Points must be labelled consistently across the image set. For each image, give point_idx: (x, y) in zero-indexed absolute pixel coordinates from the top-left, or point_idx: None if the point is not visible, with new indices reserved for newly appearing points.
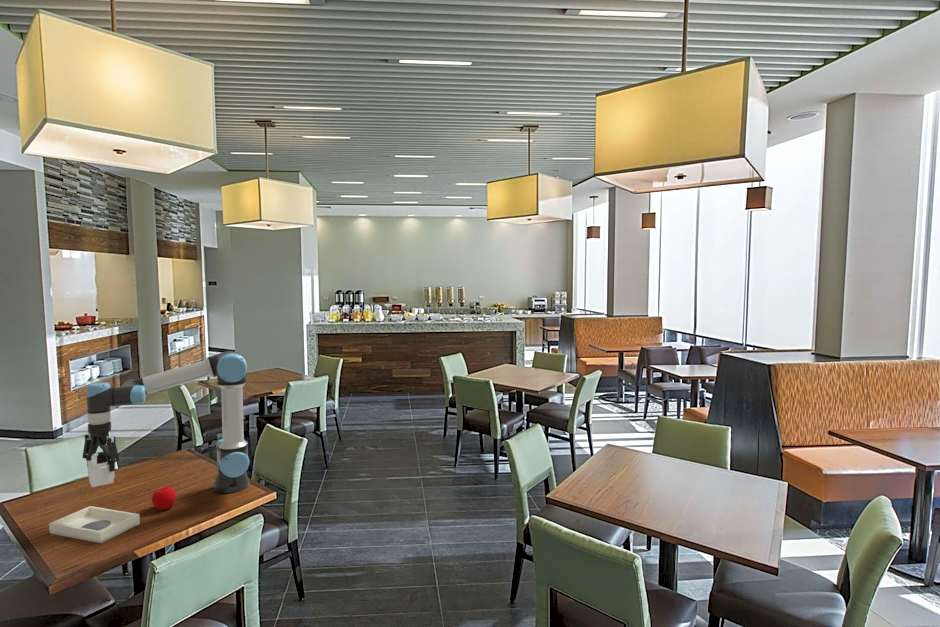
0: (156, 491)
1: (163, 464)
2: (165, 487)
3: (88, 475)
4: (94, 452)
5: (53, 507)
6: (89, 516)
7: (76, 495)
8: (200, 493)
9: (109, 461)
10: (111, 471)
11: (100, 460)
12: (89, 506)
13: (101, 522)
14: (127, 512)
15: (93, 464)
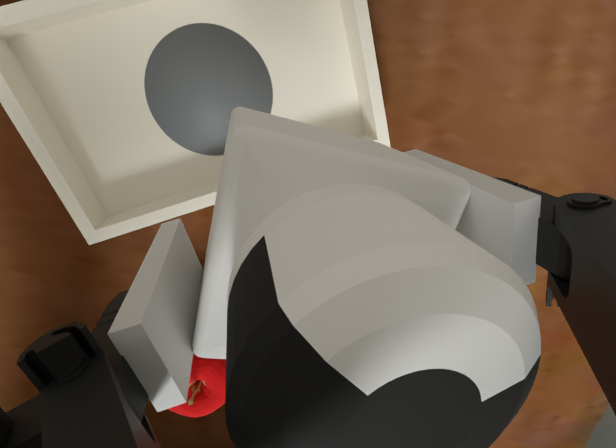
0: (204, 368)
1: (549, 420)
2: (207, 404)
3: (418, 153)
4: (602, 355)
5: (577, 86)
6: (346, 124)
7: (593, 183)
8: (229, 436)
9: (44, 396)
10: (120, 297)
11: (234, 309)
12: (388, 142)
13: None
14: (160, 219)
15: (316, 195)
